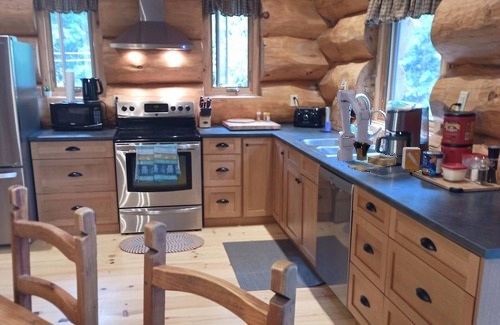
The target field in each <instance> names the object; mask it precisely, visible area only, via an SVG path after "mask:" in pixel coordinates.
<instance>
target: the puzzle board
mask: <svg viewBox="0 0 500 325" xmlns="http://www.w3.org/2000/svg"><path fill="white" fill-rule="evenodd" d="M379 155H380V154H377V155H371V156H370V155H369V156H367V162H363V163H357V164H352V165H351V164H350V165H348V167H347V169H349V168H350V170H353V169H354V170H353V171H356V172H360V171H361V172H362V173H364V172H365V173H370V172H371V171H369V170H372V169H377V168H378V169H379V168H380V169H381V168H384V167H389V166H390V167H391V166H396V165H397V157H395V158H385V157H381V156H379ZM366 165H372V166H366ZM361 172H360V173H361Z"/></svg>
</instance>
